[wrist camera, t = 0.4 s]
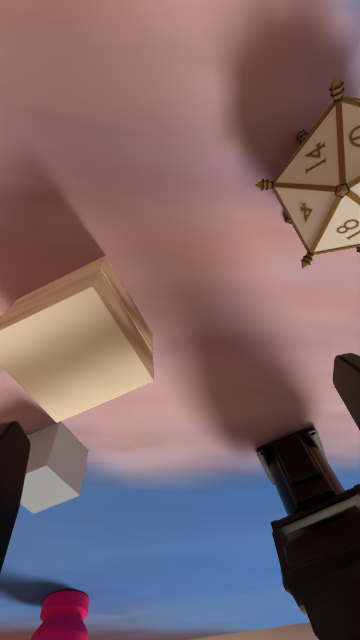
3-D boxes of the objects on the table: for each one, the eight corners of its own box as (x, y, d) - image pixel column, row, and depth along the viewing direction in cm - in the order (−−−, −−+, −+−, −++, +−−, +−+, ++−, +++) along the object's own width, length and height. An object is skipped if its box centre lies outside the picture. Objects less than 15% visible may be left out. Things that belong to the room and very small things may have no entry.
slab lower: (152, 332, 24) (153, 353, 21) (76, 366, 24) (67, 391, 22) (106, 254, 20) (100, 267, 18) (19, 296, 21) (2, 315, 18)
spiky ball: (264, 189, 23) (204, 206, 15) (362, 60, 17) (344, -14, 10) (354, 268, 22) (338, 328, 14) (489, 160, 16) (579, 165, 9)
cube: (88, 449, 29) (79, 495, 25) (48, 466, 29) (33, 513, 25) (60, 420, 27) (46, 465, 23) (18, 438, 27) (-4, 485, 23)
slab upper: (152, 353, 21) (154, 380, 18) (67, 391, 22) (56, 422, 19) (100, 267, 18) (92, 286, 15) (1, 315, 18) (-23, 341, 16)
